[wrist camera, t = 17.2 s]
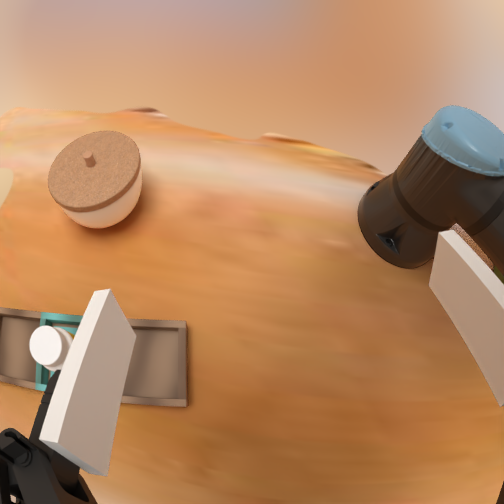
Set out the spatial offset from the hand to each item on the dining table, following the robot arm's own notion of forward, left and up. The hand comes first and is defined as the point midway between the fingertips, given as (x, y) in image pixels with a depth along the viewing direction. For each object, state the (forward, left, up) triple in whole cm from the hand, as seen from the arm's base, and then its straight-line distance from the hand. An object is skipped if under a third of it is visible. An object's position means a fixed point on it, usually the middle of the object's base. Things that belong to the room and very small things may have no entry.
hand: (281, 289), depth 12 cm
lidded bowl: (-22, -18, -27) cm, 39 cm away
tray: (0, -19, -27) cm, 33 cm away
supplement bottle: (0, -19, -26) cm, 32 cm away
